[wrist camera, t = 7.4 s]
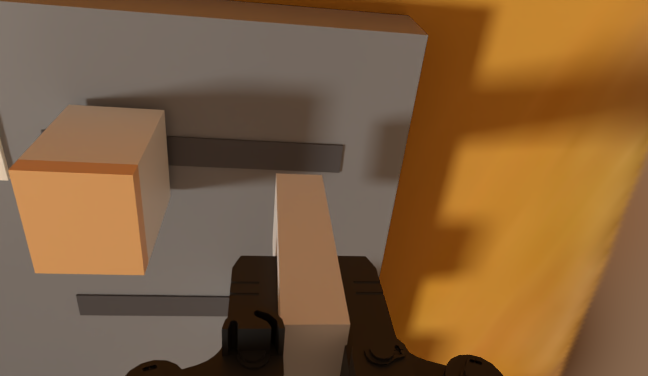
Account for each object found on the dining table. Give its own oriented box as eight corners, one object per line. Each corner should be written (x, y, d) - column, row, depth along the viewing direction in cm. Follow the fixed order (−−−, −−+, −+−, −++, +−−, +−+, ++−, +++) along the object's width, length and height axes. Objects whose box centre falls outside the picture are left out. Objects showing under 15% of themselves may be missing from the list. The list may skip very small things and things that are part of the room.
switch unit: (51, 421, 31) (30, 472, 28) (-83, -26, 18) (-148, -9, 15) (336, 416, 33) (342, 464, 31) (408, 15, 20) (429, 36, 17)
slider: (84, 193, 19) (35, 273, 15) (68, 104, 17) (8, 169, 13) (170, 196, 19) (144, 275, 16) (164, 109, 18) (133, 175, 14)
